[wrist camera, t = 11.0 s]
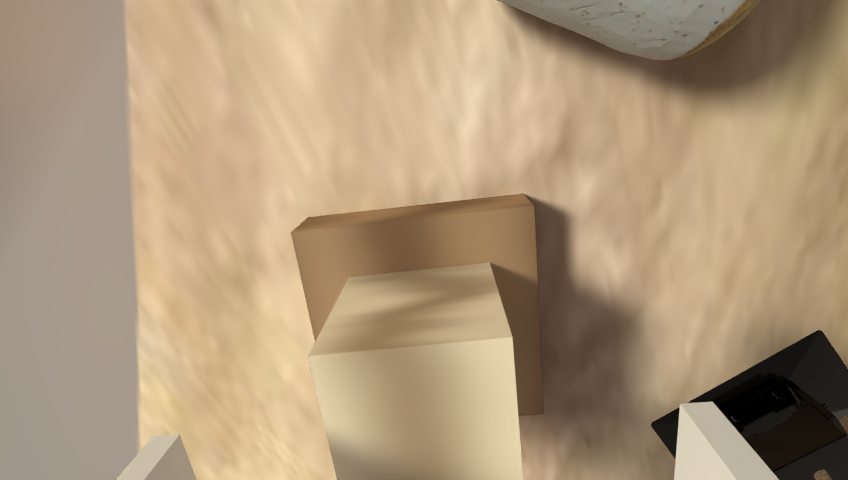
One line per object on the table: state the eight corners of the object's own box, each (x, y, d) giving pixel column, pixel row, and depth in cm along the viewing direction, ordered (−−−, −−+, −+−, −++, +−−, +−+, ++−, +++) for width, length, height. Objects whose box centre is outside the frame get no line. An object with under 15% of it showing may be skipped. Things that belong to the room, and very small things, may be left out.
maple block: (489, 262, 18) (512, 337, 12) (500, 384, 20) (524, 498, 14) (348, 277, 19) (308, 356, 13) (371, 395, 20) (344, 510, 15)
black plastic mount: (678, 500, 25) (727, 583, 21) (611, 418, 24) (649, 488, 19) (894, 391, 23) (1001, 459, 18) (834, 289, 21) (936, 338, 17)
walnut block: (520, 191, 20) (534, 205, 17) (531, 375, 23) (543, 413, 20) (311, 214, 21) (291, 232, 18) (347, 390, 24) (334, 429, 21)
